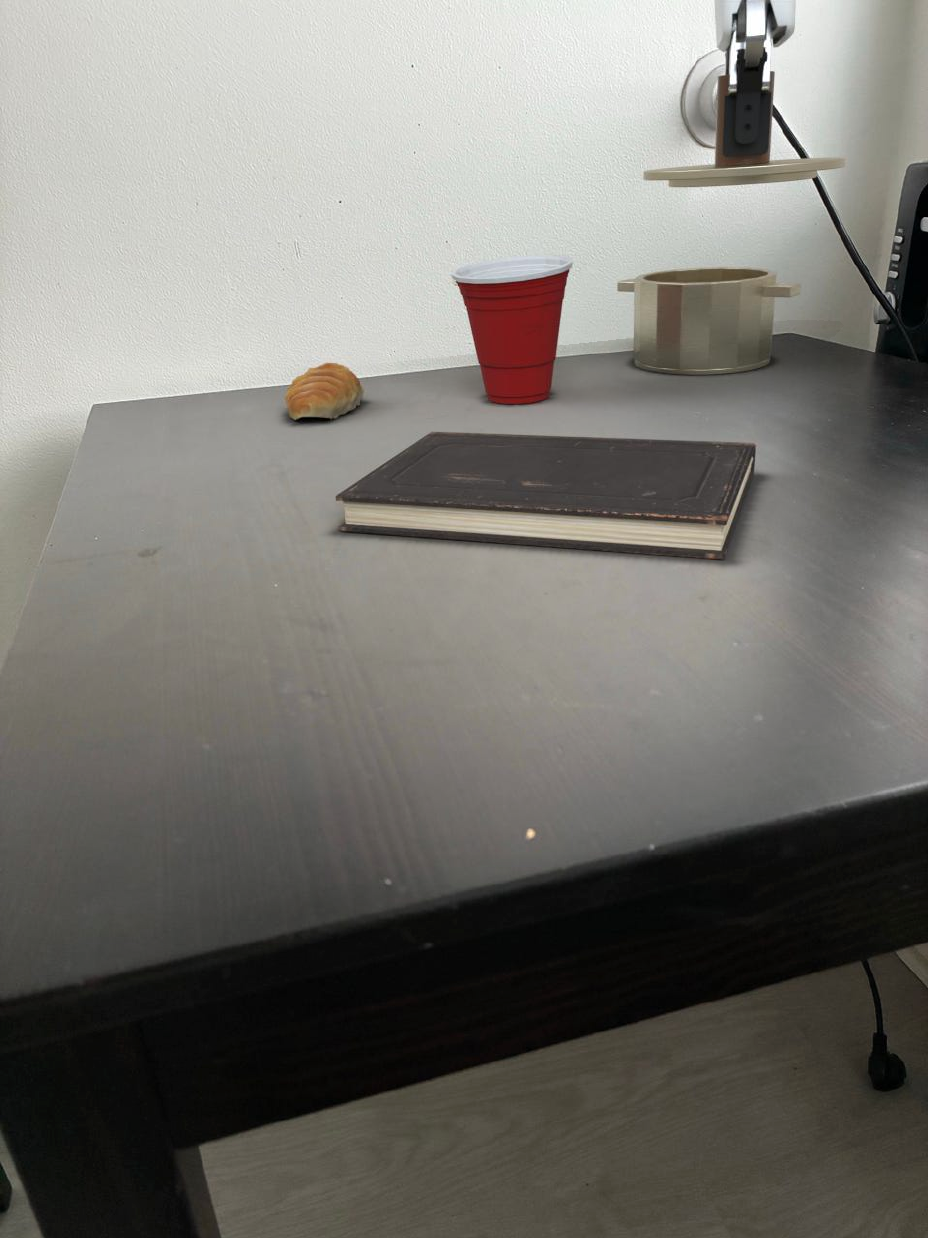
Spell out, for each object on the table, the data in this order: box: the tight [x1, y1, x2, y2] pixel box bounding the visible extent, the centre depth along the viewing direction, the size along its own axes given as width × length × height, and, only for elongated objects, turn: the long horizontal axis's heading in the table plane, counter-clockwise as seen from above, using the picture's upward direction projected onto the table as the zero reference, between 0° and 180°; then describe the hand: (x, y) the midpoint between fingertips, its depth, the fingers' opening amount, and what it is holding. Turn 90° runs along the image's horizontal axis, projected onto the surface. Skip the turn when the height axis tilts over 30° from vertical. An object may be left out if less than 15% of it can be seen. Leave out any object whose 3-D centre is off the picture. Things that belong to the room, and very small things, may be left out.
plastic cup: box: [450, 254, 574, 405], centre depth 90 cm, size 11×11×12 cm
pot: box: [616, 266, 802, 376], centre depth 101 cm, size 14×19×8 cm
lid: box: [642, 70, 846, 188], centre depth 74 cm, size 15×15×7 cm
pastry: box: [284, 362, 365, 421], centre depth 90 cm, size 9×7×4 cm
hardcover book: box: [335, 431, 757, 560], centre depth 63 cm, size 16×23×2 cm
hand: (742, 152), depth 75 cm, fingers closed on lid, 4 cm apart
